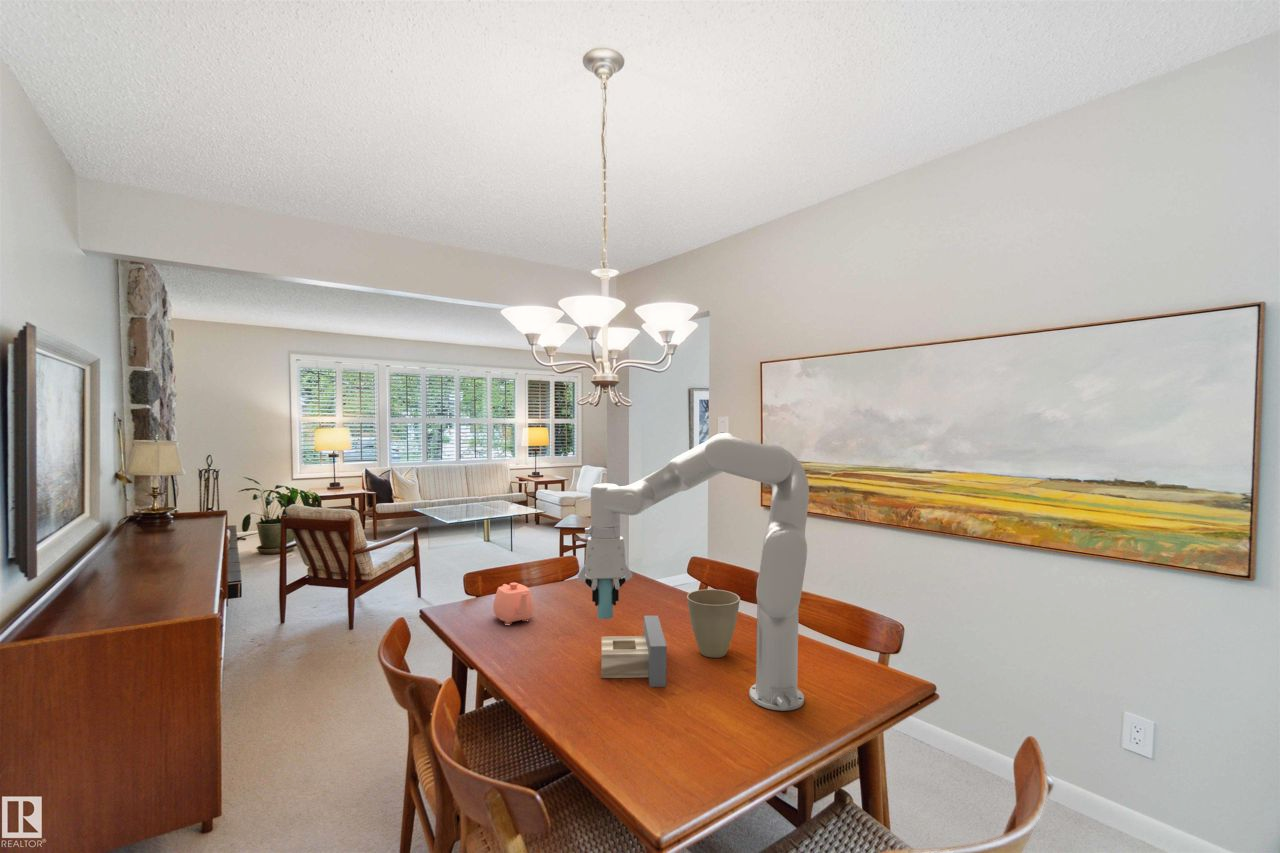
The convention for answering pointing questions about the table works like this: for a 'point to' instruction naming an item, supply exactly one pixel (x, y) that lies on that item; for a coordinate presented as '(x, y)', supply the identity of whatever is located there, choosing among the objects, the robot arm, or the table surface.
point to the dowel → (605, 598)
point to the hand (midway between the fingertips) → (605, 603)
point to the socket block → (624, 657)
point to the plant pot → (713, 619)
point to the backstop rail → (655, 651)
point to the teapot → (513, 603)
